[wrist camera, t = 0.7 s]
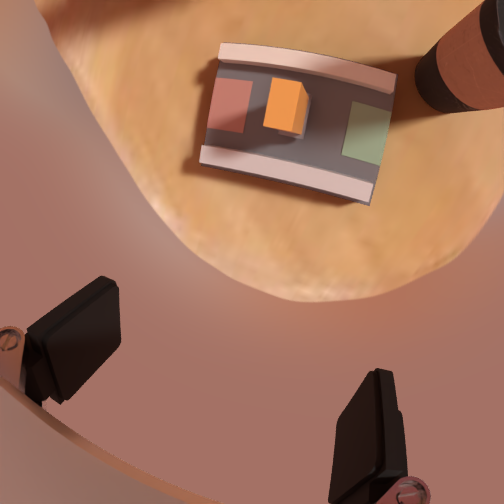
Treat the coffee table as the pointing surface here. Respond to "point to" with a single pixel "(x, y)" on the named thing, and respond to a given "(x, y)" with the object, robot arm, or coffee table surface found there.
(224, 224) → the coffee table surface
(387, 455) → the robot arm
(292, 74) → the breaker block
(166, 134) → the coffee table surface
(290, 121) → the breaker lever
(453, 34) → the travel mug
